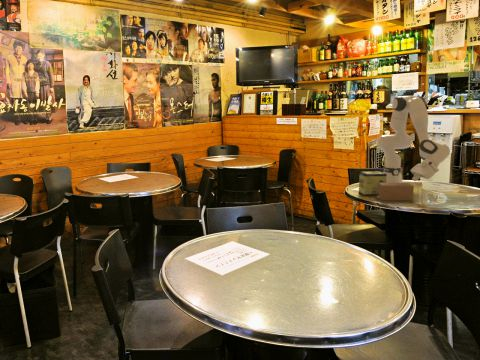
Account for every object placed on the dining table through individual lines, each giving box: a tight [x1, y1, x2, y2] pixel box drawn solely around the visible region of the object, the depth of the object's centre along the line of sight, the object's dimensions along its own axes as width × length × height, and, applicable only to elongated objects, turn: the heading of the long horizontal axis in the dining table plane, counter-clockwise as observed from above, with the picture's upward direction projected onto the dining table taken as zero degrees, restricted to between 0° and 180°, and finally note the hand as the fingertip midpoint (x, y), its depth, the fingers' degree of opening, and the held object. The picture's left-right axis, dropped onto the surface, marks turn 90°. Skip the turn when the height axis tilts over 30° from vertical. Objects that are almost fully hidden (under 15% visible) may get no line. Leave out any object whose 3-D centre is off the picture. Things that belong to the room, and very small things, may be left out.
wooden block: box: [377, 182, 415, 201], centre depth 279 cm, size 10×10×20 cm
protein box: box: [358, 170, 387, 197], centre depth 293 cm, size 10×16×16 cm
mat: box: [373, 197, 417, 204], centre depth 277 cm, size 13×22×1 cm, turn 95°
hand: (413, 180), depth 276 cm, fingers closed
